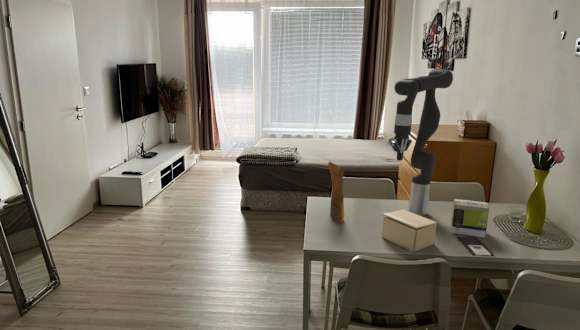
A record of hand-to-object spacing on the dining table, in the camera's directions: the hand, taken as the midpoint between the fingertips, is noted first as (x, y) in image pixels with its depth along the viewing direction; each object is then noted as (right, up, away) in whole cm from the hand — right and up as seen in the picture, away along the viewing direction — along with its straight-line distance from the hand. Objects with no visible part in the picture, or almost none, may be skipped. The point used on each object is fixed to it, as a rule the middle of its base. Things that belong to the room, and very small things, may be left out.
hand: (399, 160), depth 201 cm
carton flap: (+1, -26, -12) cm, 29 cm away
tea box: (+33, -35, +3) cm, 48 cm away
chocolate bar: (+30, -39, -12) cm, 51 cm away
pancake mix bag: (-29, -29, +16) cm, 44 cm away
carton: (+1, -37, -9) cm, 38 cm away
